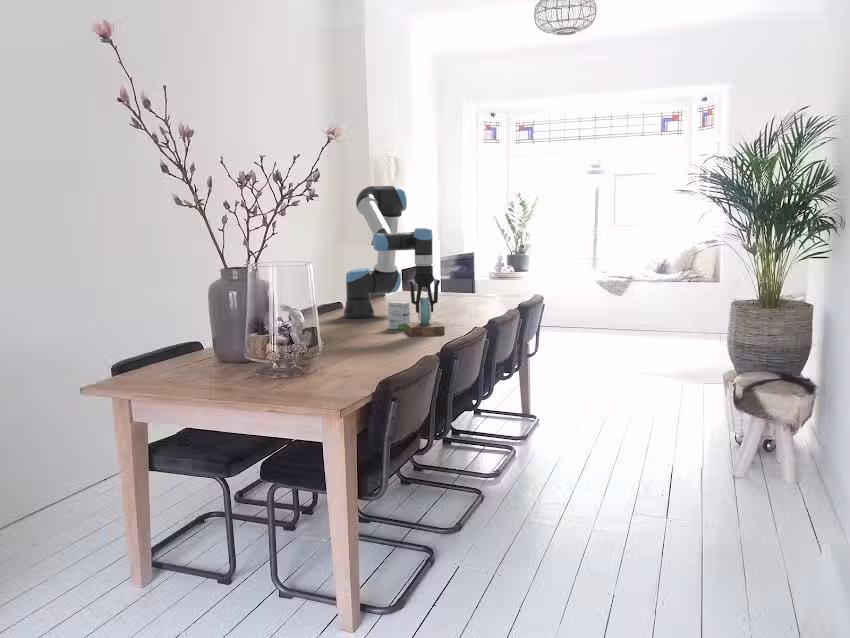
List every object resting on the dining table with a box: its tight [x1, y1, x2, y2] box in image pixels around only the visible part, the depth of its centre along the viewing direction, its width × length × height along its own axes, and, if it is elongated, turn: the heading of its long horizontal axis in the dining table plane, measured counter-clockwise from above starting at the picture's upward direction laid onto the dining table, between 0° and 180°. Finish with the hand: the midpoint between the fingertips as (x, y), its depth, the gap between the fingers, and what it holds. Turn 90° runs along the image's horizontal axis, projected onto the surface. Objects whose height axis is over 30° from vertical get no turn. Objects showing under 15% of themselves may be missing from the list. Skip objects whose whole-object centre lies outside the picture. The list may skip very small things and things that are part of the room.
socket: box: [405, 320, 446, 337], centre depth 301 cm, size 14×14×4 cm
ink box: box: [387, 301, 411, 331], centre depth 311 cm, size 9×5×12 cm, turn 60°
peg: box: [419, 296, 430, 326], centre depth 300 cm, size 4×4×12 cm
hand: (424, 319), depth 300 cm, fingers closed on peg, 3 cm apart
